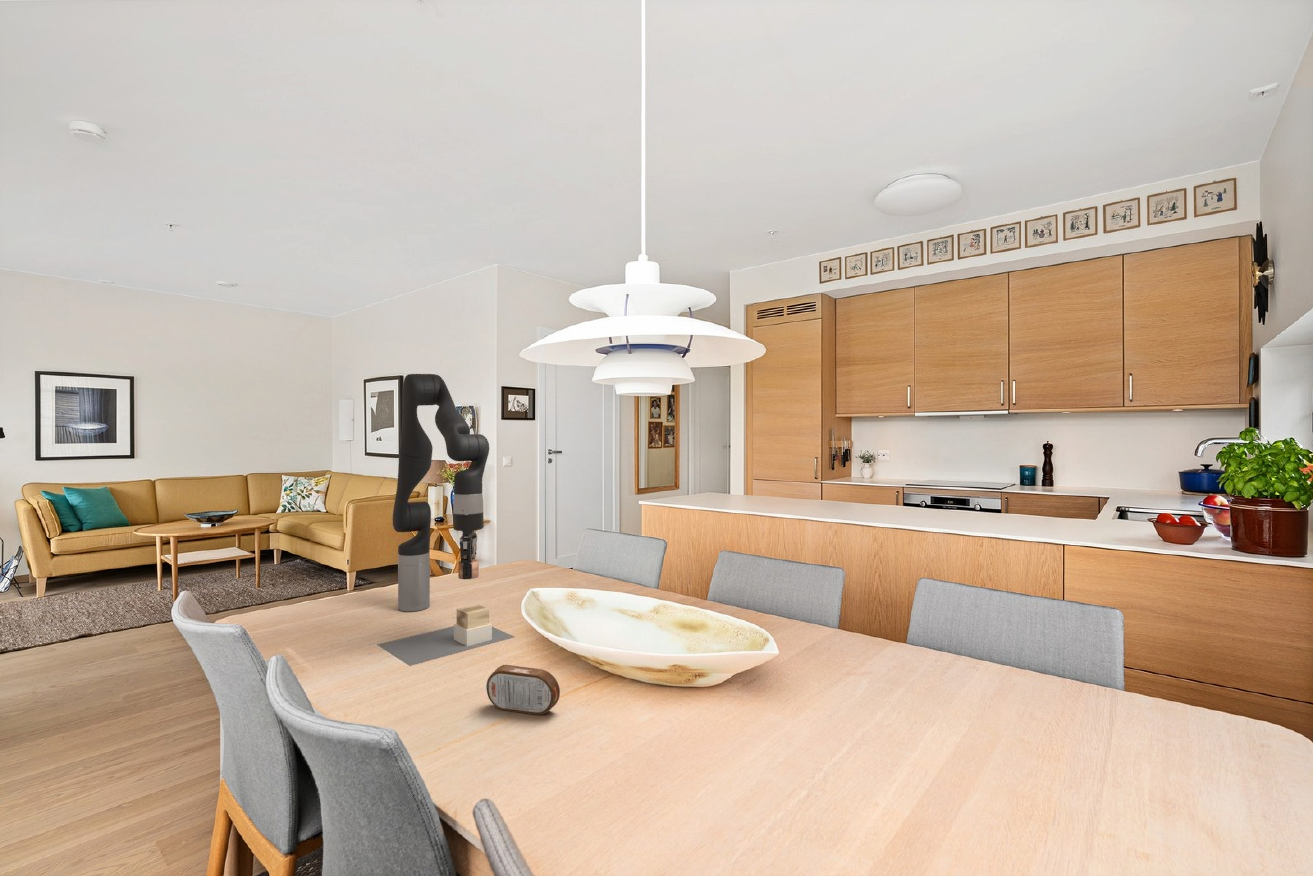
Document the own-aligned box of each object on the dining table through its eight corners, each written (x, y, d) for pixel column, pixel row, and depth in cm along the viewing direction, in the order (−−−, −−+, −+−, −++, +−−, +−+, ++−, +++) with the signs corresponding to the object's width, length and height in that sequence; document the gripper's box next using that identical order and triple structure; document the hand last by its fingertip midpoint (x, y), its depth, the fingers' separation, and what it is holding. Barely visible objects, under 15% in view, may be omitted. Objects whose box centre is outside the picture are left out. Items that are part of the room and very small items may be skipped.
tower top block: (456, 624, 156) (456, 609, 156) (477, 619, 160) (477, 604, 160) (467, 629, 152) (467, 613, 152) (489, 624, 156) (489, 609, 156)
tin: (560, 712, 118) (560, 669, 118) (553, 719, 114) (553, 675, 114) (492, 703, 122) (492, 661, 122) (483, 709, 119) (483, 667, 119)
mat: (376, 648, 152) (376, 644, 152) (477, 623, 172) (477, 620, 172) (409, 670, 138) (409, 665, 138) (515, 640, 158) (515, 636, 158)
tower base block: (453, 639, 156) (453, 624, 156) (478, 633, 161) (478, 618, 161) (466, 646, 151) (466, 630, 151) (491, 639, 156) (491, 624, 156)
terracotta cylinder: (454, 577, 156) (454, 561, 156) (472, 574, 159) (472, 559, 159) (464, 580, 152) (464, 564, 152) (482, 577, 156) (482, 561, 156)
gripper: (457, 508, 162) (457, 571, 162) (448, 514, 148) (449, 583, 148) (486, 507, 163) (486, 570, 163) (480, 514, 149) (480, 582, 149)
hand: (468, 576), depth 156 cm, fingers closed on terracotta cylinder, 5 cm apart
